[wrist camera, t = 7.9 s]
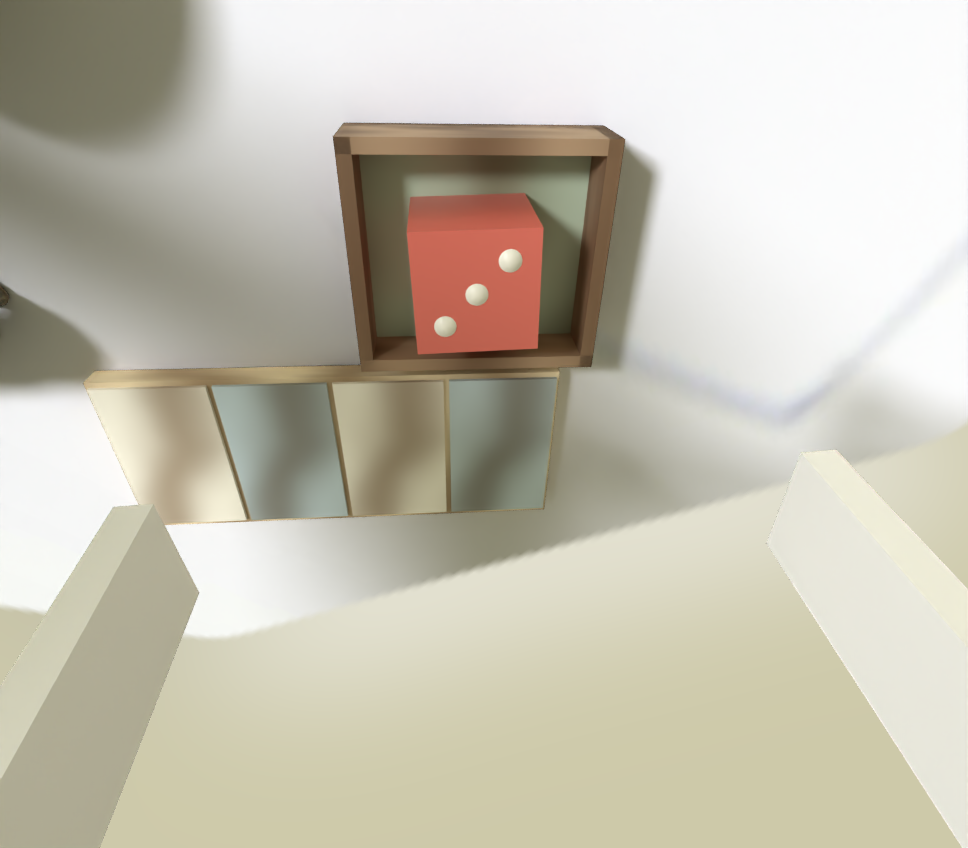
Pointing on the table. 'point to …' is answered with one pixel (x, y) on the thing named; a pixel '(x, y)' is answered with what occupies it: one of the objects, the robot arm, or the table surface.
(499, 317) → the die
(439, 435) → the board
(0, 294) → the rhino figurine
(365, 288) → the dice tray
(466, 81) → the table surface
